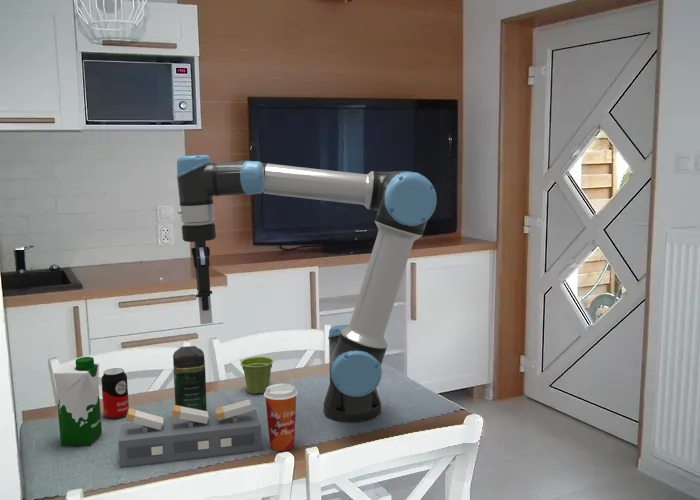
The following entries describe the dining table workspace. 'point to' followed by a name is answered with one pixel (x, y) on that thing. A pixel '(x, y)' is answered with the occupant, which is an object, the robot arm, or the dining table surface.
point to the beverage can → (115, 393)
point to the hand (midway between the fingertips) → (206, 322)
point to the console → (188, 439)
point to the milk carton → (78, 402)
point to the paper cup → (281, 415)
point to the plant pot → (257, 373)
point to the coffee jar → (190, 378)
